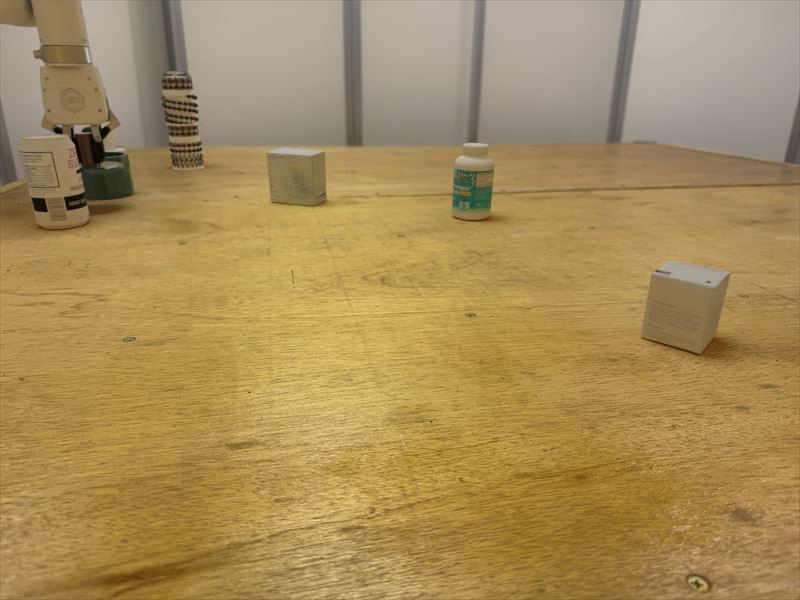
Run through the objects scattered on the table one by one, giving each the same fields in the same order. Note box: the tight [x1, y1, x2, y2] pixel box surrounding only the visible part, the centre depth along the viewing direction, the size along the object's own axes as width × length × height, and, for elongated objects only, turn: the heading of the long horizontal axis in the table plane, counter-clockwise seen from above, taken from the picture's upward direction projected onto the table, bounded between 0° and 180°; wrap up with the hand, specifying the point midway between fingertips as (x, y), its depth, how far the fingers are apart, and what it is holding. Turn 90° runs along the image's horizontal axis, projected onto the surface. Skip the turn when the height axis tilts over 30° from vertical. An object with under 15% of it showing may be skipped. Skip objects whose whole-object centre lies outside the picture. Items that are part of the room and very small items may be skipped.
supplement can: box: [17, 133, 91, 230], centre depth 94 cm, size 8×8×15 cm
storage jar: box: [81, 152, 135, 201], centre depth 119 cm, size 10×10×8 cm
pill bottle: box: [451, 142, 495, 221], centre depth 103 cm, size 8×7×14 cm
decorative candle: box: [160, 70, 205, 172], centre depth 149 cm, size 9×9×25 cm
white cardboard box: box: [640, 259, 731, 355], centre depth 57 cm, size 6×6×7 cm
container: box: [81, 125, 127, 153], centre depth 130 cm, size 8×8×13 cm
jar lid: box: [74, 132, 123, 176], centre depth 104 cm, size 11×11×7 cm
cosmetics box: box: [265, 147, 328, 207], centre depth 114 cm, size 10×6×10 cm, turn 71°
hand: (89, 162), depth 105 cm, fingers closed on jar lid, 3 cm apart
